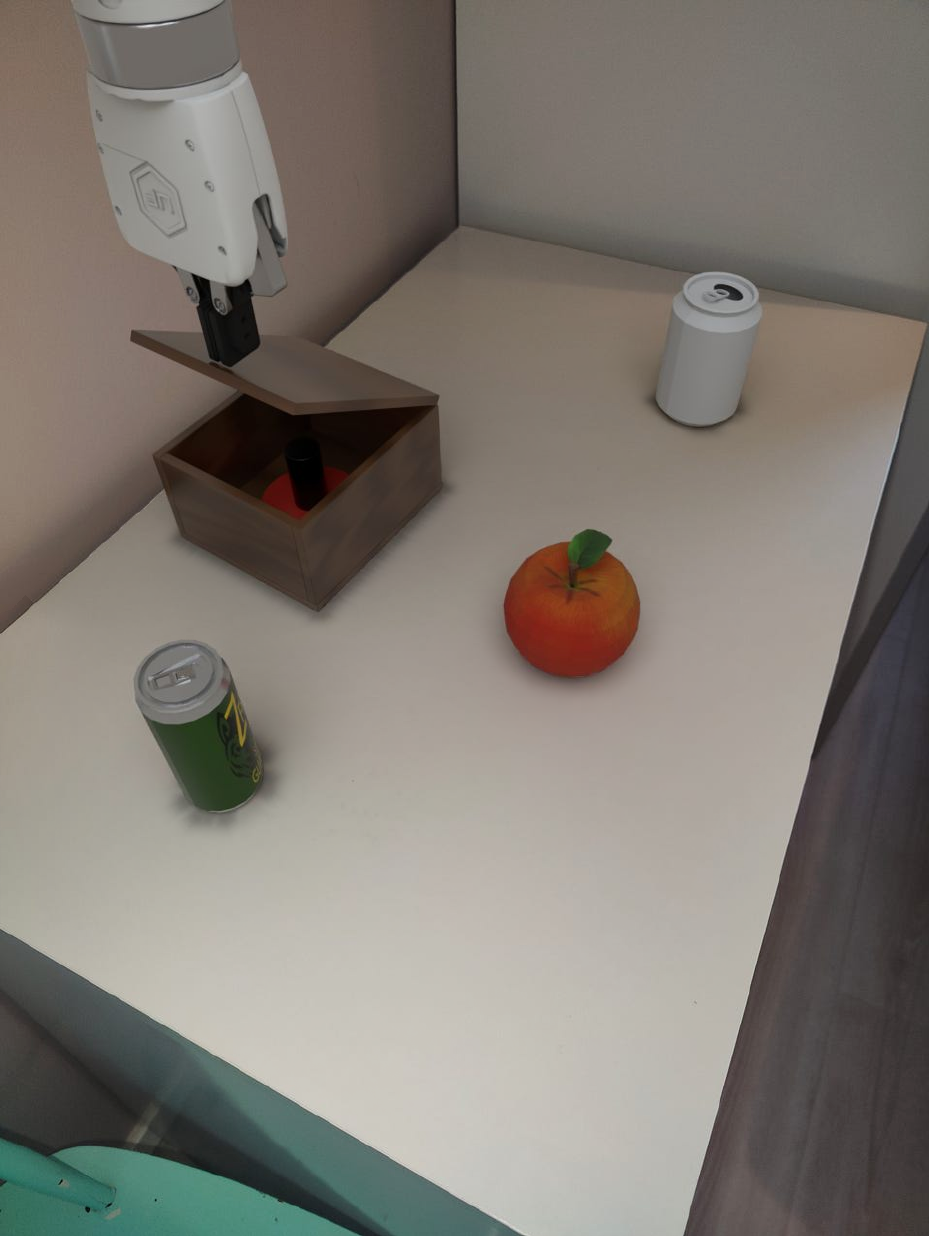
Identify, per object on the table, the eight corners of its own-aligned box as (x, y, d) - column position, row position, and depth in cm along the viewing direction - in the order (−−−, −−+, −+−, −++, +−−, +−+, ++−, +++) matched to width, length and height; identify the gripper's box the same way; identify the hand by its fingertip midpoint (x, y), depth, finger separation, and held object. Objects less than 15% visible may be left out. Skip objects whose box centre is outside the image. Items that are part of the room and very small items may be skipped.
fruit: (474, 652, 66) (473, 559, 58) (553, 578, 71) (562, 483, 63) (579, 724, 62) (594, 635, 54) (656, 641, 67) (679, 547, 59)
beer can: (194, 829, 57) (140, 728, 48) (175, 762, 61) (120, 655, 51) (275, 797, 59) (238, 693, 50) (252, 733, 62) (213, 624, 53)
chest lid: (293, 415, 56) (295, 403, 55) (129, 341, 61) (130, 329, 61) (437, 404, 70) (440, 395, 70) (295, 345, 76) (297, 335, 75)
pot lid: (252, 539, 73) (236, 482, 68) (273, 469, 78) (260, 412, 73) (355, 543, 72) (346, 486, 68) (369, 473, 78) (362, 416, 73)
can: (752, 412, 83) (787, 294, 74) (693, 443, 81) (720, 324, 71) (696, 372, 87) (721, 255, 78) (637, 400, 85) (656, 283, 75)
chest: (317, 612, 69) (300, 530, 62) (181, 537, 74) (151, 454, 67) (442, 488, 77) (439, 404, 71) (312, 428, 83) (297, 345, 76)
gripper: (5, 34, 46) (115, 345, 61) (217, 99, 41) (283, 423, 55) (116, -7, 50) (195, 294, 64) (323, 47, 45) (360, 362, 59)
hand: (236, 352), depth 60 cm, fingers closed
